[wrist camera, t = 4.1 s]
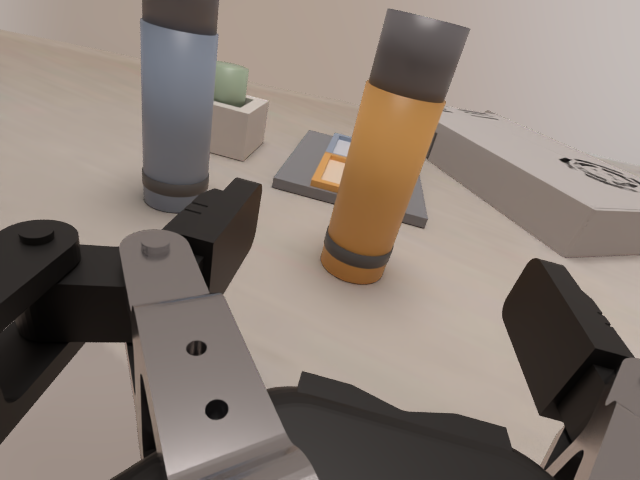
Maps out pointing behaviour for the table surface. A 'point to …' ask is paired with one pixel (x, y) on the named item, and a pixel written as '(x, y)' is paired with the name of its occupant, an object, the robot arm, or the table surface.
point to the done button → (230, 84)
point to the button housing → (238, 128)
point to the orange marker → (390, 142)
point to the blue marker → (177, 99)
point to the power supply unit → (541, 183)
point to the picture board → (331, 173)
